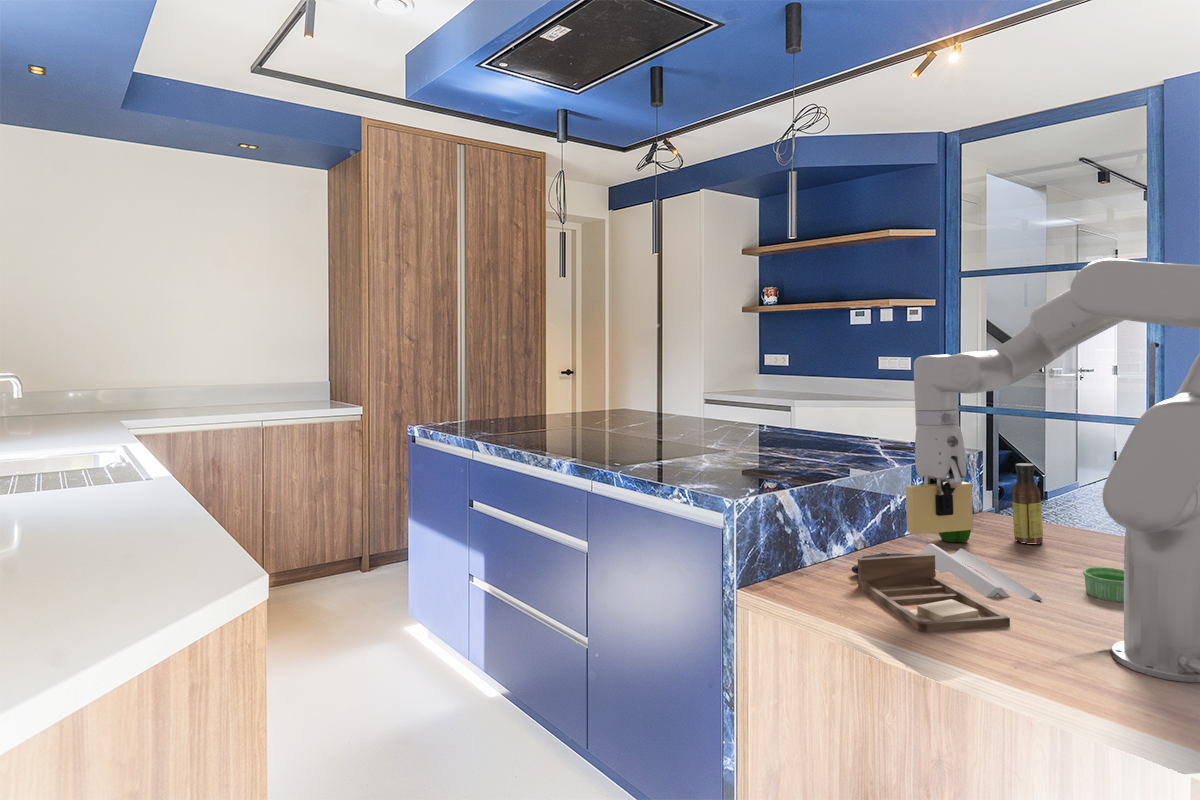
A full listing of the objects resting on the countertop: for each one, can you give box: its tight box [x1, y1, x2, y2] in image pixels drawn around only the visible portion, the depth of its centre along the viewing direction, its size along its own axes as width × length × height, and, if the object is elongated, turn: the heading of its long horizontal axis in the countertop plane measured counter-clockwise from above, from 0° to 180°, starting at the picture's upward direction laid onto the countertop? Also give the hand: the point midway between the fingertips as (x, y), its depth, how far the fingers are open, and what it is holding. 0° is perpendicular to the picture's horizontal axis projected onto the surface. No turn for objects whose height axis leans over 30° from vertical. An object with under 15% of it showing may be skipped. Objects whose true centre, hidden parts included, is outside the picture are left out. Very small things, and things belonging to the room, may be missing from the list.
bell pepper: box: [938, 530, 972, 543], centre depth 174 cm, size 8×8×10 cm
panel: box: [905, 481, 974, 535], centre depth 131 cm, size 2×12×9 cm, turn 95°
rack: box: [857, 553, 1011, 633], centre depth 129 cm, size 24×16×7 cm, turn 4°
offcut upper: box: [916, 599, 979, 621], centre depth 123 cm, size 6×8×2 cm
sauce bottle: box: [1011, 462, 1044, 544], centre depth 170 cm, size 7×6×20 cm
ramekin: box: [1082, 566, 1124, 603], centre depth 133 cm, size 9×9×4 cm
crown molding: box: [918, 543, 1043, 601], centre depth 147 cm, size 31×12×4 cm, turn 176°
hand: (939, 512), depth 131 cm, fingers closed on panel, 2 cm apart
